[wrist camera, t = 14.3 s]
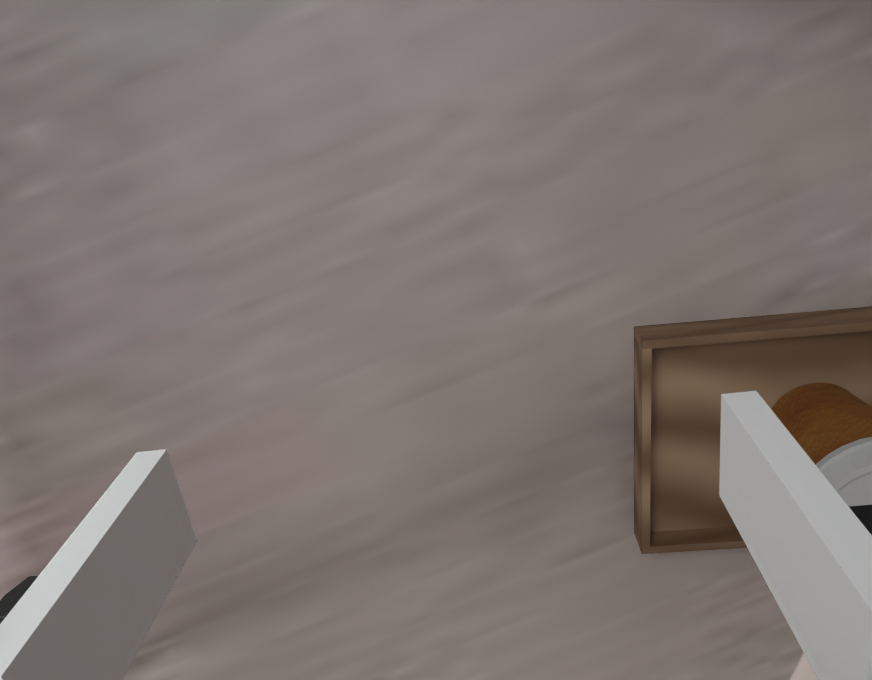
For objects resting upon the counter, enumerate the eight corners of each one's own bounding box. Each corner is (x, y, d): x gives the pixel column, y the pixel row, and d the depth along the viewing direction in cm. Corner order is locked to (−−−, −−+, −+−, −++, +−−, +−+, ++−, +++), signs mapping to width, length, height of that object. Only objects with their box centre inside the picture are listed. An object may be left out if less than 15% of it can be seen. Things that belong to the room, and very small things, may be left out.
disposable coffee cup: (765, 349, 48) (836, 434, 37) (909, 373, 47) (1026, 468, 36) (724, 468, 52) (778, 579, 40) (858, 493, 51) (950, 612, 40)
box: (634, 326, 48) (642, 341, 46) (897, 304, 47) (919, 318, 45) (634, 532, 55) (641, 553, 53) (865, 517, 54) (883, 539, 51)
